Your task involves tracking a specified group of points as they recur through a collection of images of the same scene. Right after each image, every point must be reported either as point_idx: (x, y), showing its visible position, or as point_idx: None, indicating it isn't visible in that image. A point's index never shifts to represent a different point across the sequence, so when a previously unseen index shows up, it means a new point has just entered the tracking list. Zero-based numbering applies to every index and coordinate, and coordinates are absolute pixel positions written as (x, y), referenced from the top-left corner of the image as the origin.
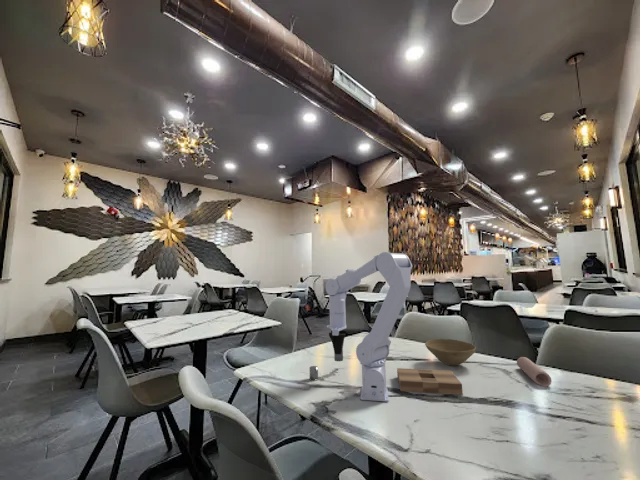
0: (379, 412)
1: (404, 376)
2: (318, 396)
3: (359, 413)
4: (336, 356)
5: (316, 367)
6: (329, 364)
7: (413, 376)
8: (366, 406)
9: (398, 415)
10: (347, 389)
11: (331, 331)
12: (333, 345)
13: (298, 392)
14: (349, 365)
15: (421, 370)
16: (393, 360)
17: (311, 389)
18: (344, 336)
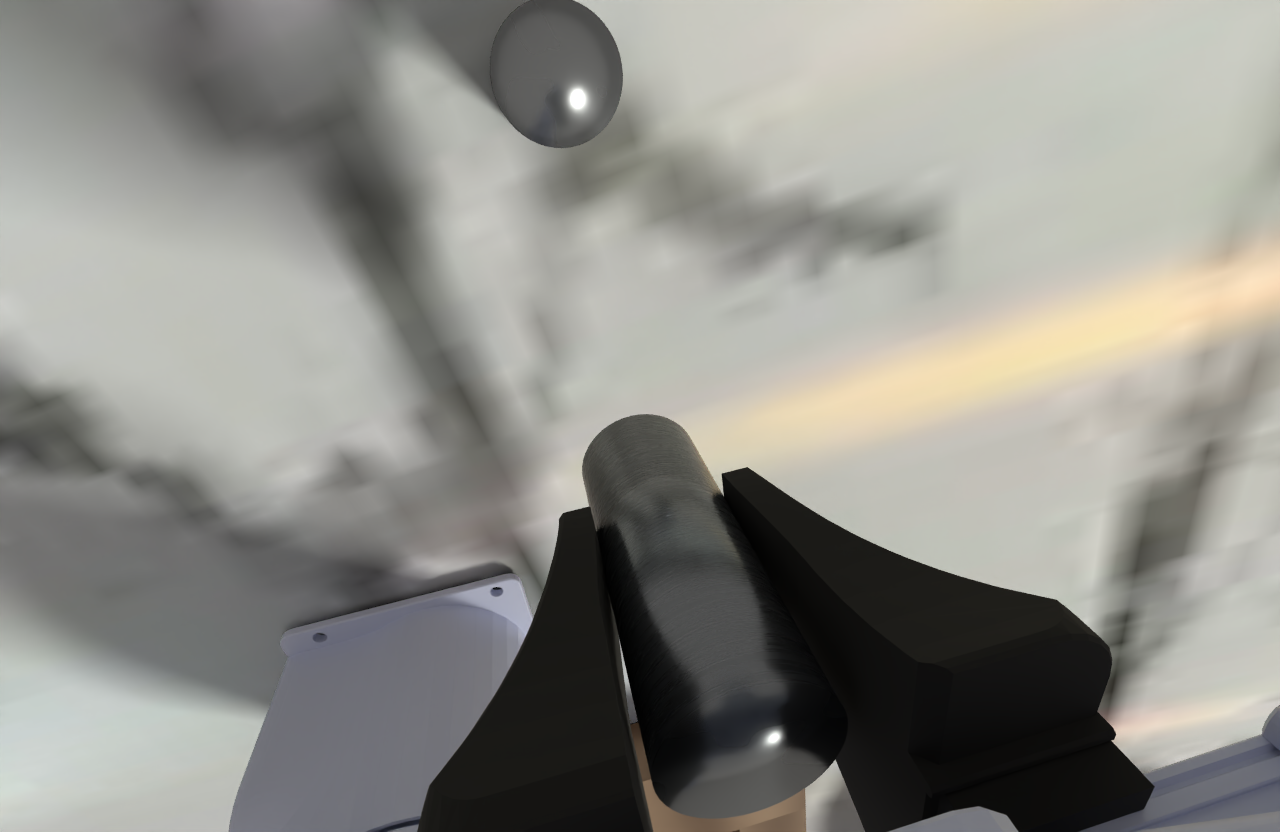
0: (182, 750)
1: (652, 800)
2: (126, 322)
3: (76, 680)
4: (593, 494)
5: (563, 125)
6: (1054, 94)
7: (667, 829)
8: (213, 679)
9: (216, 816)
10: (432, 491)
11: (937, 677)
12: (537, 614)
13: (54, 46)
14: (1012, 321)
15: (785, 827)
16: (1107, 583)
17: (243, 177)
18: (844, 779)
